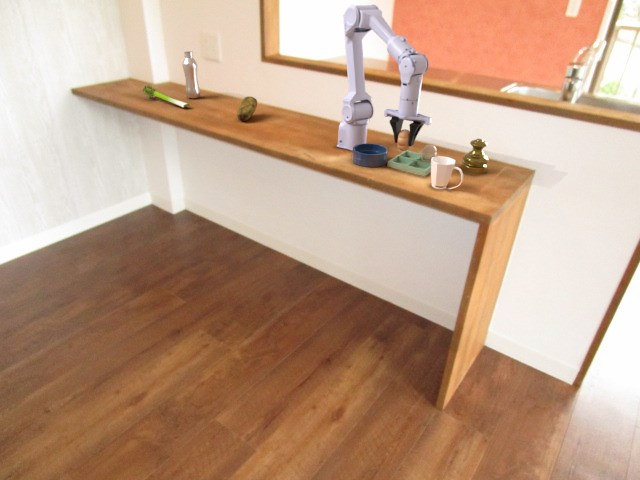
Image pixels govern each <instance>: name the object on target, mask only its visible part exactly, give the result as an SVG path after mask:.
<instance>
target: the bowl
mask: <svg viewBox="0 0 640 480" xmlns="http://www.w3.org/2000/svg"><path fill="white" fill-rule="evenodd" d="M351 153H352V154H351V161H352V163H354V164H355V165H357V166H360V167H366V168H379V167H383V166H385V165H386V164H388V157H389V156H388V155H389V149H388V147H386V146H385V145H381V144H378V143H369V142H366V143H363V144H357V145H355V146H354V147H353V150H352V152H351Z"/></svg>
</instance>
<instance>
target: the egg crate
mask: <svg viewBox="0 0 640 480" xmlns="http://www.w3.org/2000/svg"><path fill="white" fill-rule="evenodd" d="M386 167H388V168H392V169H395V170H398V171H403V172H406V173H411V174H415V175H419V176H423V177H426V176H427V175H429V174H431V163H427V162H423V161H422V153H420V152H415V151H410V150H407V151H402V152H401V153H399V154H397V155H396V156H394V157H392V158H390V159H389V160H387V165H386Z"/></svg>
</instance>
